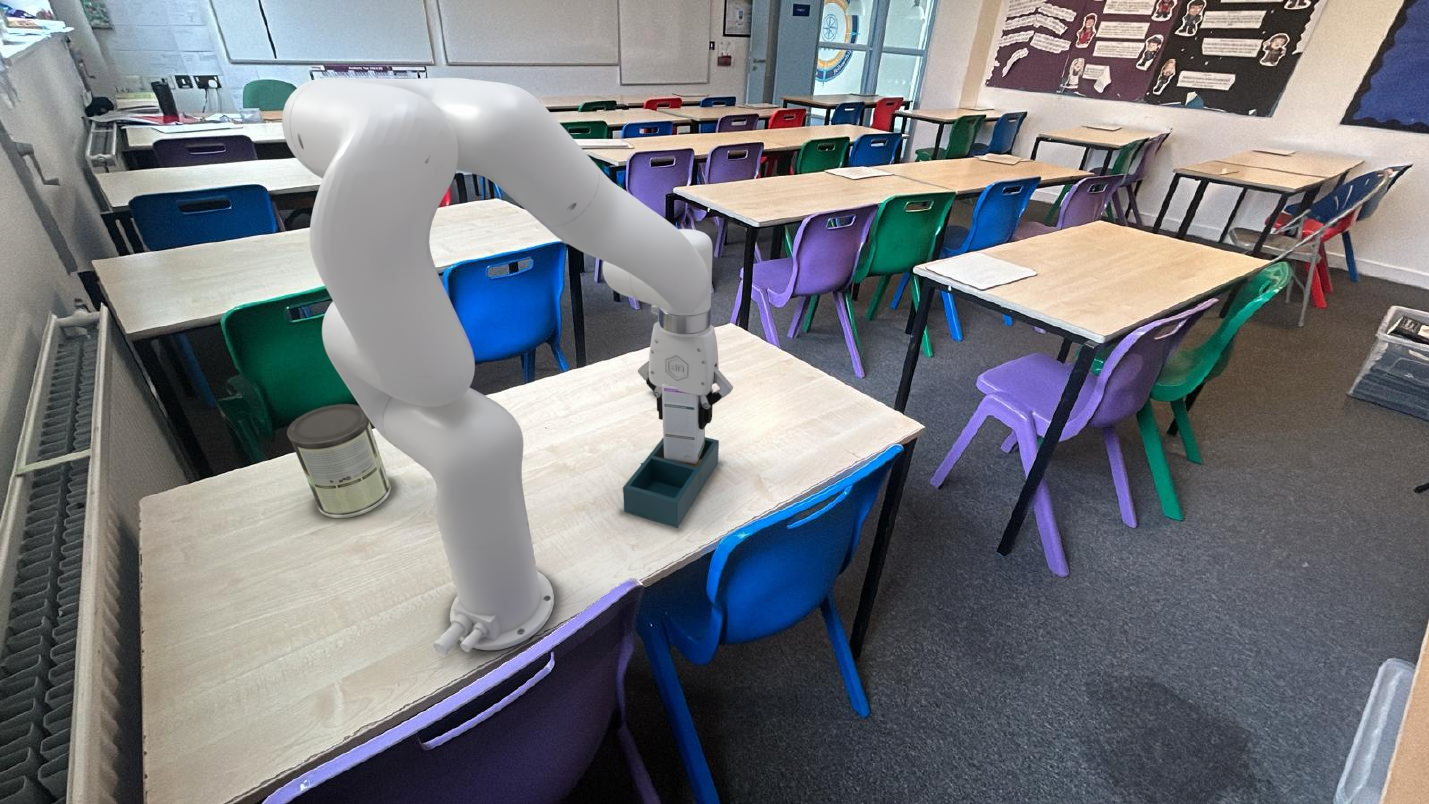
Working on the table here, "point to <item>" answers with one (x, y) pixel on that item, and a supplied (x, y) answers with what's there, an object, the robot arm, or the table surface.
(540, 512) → the table surface
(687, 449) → the syrup box
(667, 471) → the tray
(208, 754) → the table surface
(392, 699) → the table surface
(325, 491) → the coffee can
